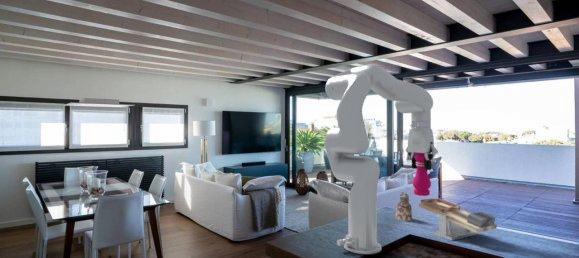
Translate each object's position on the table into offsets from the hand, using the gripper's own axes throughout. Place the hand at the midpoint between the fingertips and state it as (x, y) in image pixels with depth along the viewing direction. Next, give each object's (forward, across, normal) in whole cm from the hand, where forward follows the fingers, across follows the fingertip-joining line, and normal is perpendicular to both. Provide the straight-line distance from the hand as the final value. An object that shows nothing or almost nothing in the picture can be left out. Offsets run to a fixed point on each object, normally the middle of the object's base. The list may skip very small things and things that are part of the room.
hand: (421, 168), depth 138 cm
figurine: (+25, -14, +5) cm, 29 cm away
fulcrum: (+25, +12, +4) cm, 28 cm away
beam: (+18, +12, +4) cm, 22 cm away
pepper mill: (+11, -1, +1) cm, 11 cm away
